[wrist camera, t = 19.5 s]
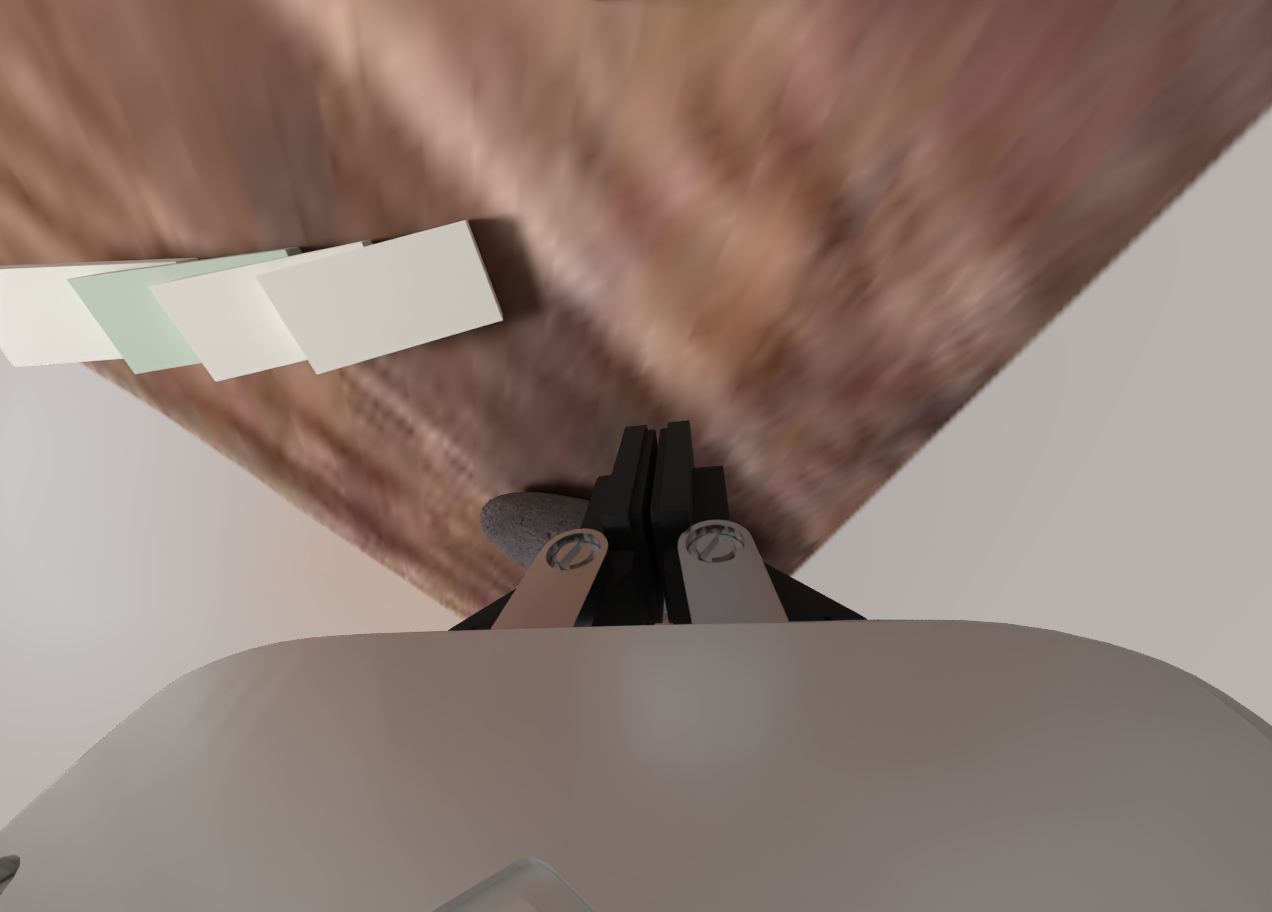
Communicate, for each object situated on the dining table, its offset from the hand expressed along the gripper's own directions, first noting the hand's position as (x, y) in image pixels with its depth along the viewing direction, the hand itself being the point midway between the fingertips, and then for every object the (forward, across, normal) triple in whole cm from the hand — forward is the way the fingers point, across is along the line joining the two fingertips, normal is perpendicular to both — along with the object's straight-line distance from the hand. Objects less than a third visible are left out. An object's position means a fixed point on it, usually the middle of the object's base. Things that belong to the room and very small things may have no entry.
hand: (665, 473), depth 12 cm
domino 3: (+15, +16, -5) cm, 22 cm away
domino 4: (+15, +10, -5) cm, 18 cm away
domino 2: (+15, +21, -5) cm, 26 cm away
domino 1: (+15, +27, -6) cm, 32 cm away
